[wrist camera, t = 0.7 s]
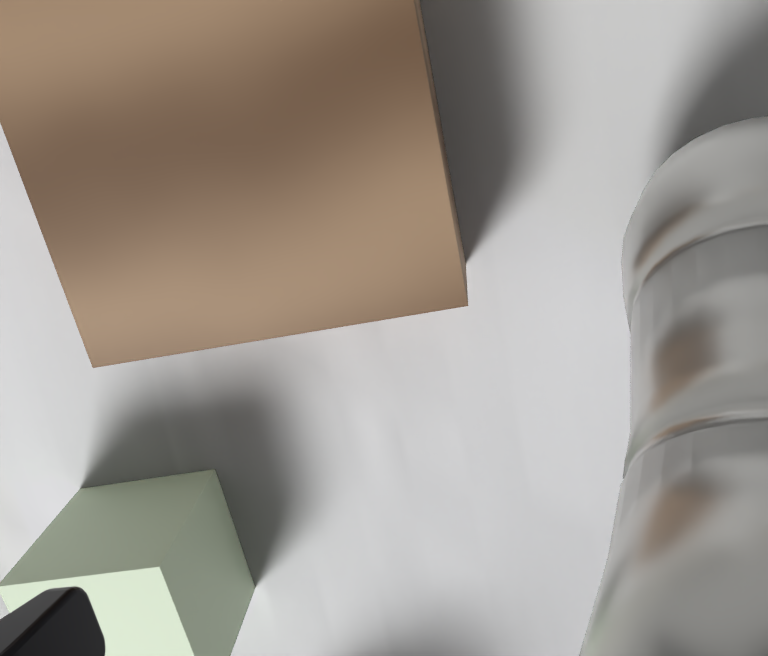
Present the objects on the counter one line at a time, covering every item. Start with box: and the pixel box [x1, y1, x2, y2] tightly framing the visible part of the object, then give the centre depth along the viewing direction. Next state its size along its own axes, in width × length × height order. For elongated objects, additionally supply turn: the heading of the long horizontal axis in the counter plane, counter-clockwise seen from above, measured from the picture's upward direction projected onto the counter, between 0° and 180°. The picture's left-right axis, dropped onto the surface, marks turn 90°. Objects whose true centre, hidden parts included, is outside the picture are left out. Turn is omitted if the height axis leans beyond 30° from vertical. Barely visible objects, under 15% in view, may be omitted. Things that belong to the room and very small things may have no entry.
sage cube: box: [0, 469, 255, 656], centre depth 23 cm, size 5×5×5 cm
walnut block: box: [0, 0, 468, 368], centre depth 18 cm, size 10×10×4 cm
